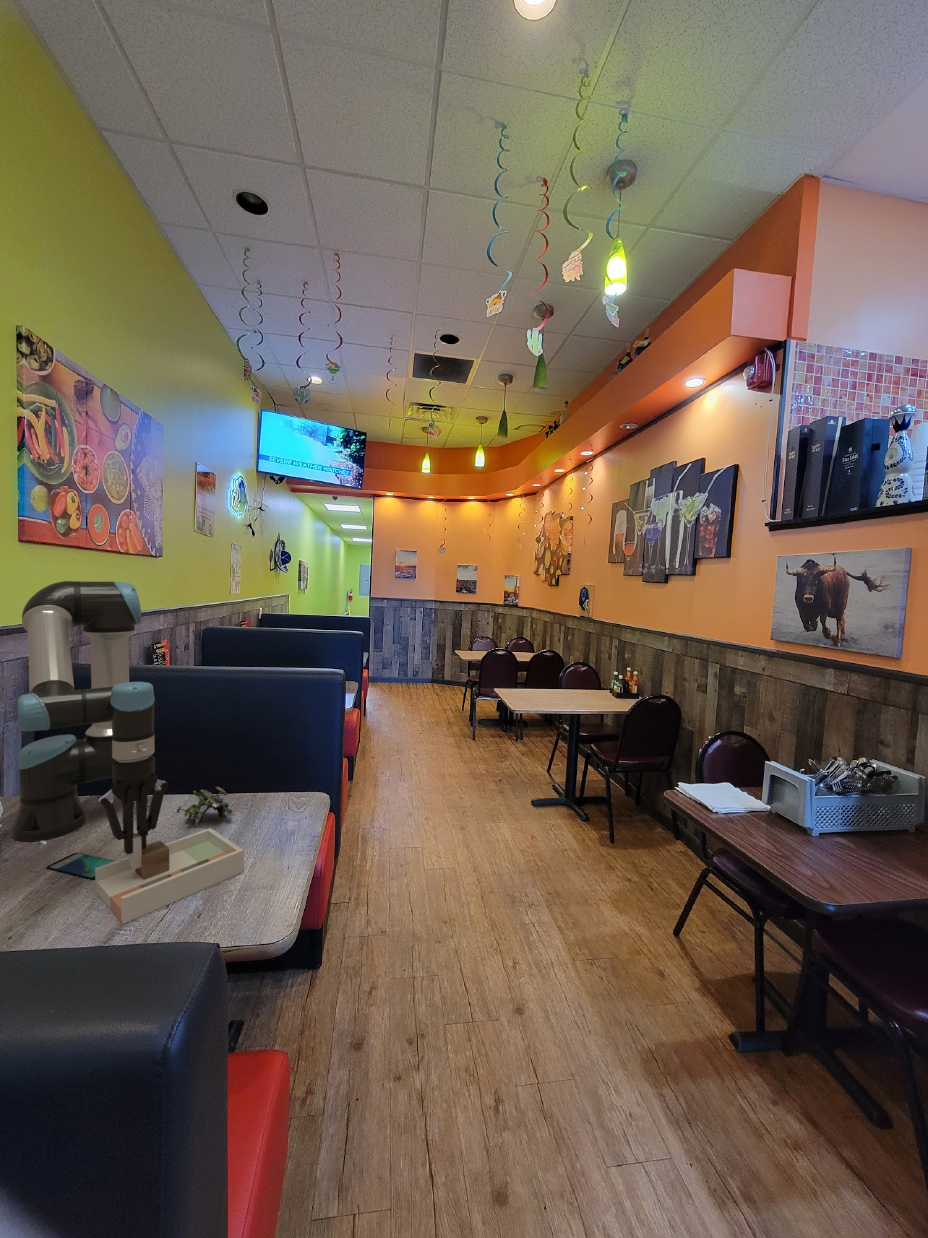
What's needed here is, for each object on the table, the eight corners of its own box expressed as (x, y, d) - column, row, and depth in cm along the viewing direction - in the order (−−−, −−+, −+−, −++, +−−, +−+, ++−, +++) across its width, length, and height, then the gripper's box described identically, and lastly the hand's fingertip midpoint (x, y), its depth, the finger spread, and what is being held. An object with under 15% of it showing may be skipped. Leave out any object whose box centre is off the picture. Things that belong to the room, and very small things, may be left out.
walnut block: (135, 871, 112) (134, 849, 111) (160, 862, 116) (160, 840, 115) (143, 880, 109) (143, 857, 108) (169, 870, 112) (169, 848, 112)
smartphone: (75, 851, 123) (123, 862, 119) (76, 854, 123) (123, 866, 119) (44, 867, 116) (93, 879, 112) (44, 870, 117) (93, 882, 112)
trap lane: (95, 891, 108) (94, 868, 108) (210, 847, 127) (210, 828, 127) (123, 924, 98) (122, 899, 98) (243, 871, 117) (243, 850, 117)
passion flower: (220, 836, 144) (244, 805, 142) (186, 847, 134) (210, 813, 132) (201, 806, 148) (223, 775, 146) (166, 814, 138) (189, 781, 136)
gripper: (103, 769, 101) (105, 886, 102) (174, 753, 111) (175, 860, 112) (91, 760, 105) (93, 872, 107) (160, 746, 115) (161, 848, 117)
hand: (135, 865), depth 109 cm, fingers closed
